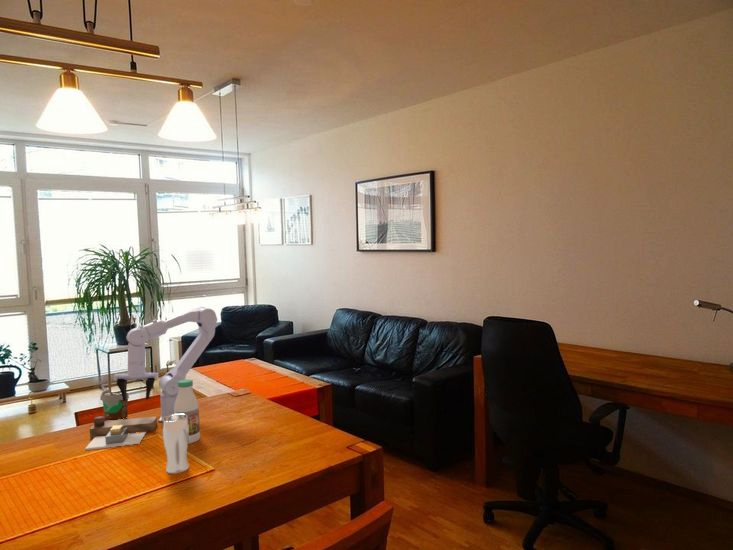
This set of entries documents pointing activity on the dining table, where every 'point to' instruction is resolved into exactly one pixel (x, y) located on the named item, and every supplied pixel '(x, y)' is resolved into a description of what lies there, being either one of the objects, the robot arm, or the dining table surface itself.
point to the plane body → (132, 424)
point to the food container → (114, 405)
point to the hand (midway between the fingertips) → (136, 399)
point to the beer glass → (176, 442)
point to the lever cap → (116, 434)
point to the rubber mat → (101, 443)
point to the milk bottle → (188, 408)
